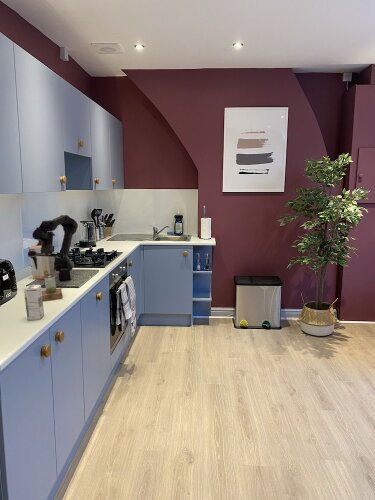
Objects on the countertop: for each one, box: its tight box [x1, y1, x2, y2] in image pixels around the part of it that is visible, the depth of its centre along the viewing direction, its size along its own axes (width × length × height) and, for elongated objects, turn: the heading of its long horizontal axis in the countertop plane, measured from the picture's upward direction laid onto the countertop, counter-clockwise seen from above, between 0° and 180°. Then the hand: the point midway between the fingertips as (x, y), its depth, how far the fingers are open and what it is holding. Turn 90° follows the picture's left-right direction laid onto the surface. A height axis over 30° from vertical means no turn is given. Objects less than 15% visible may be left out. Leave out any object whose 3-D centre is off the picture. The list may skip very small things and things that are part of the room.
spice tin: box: [44, 274, 57, 293], centre depth 197 cm, size 5×5×9 cm
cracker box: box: [28, 245, 57, 281], centre depth 237 cm, size 14×6×21 cm, turn 71°
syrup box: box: [23, 284, 45, 321], centre depth 168 cm, size 6×6×14 cm
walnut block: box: [41, 287, 63, 303], centre depth 198 cm, size 10×10×3 cm
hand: (45, 270), depth 211 cm, fingers open, 9 cm apart
